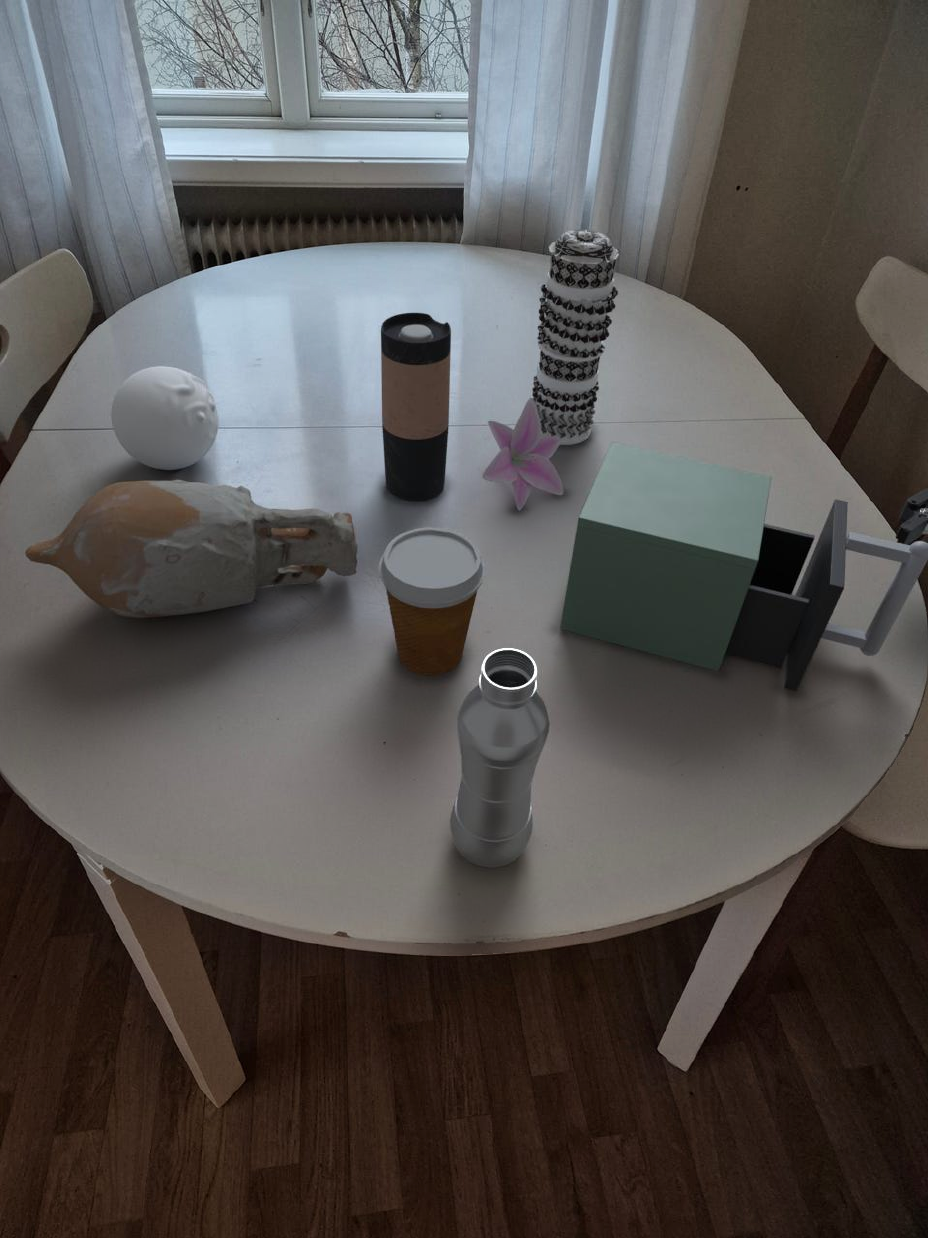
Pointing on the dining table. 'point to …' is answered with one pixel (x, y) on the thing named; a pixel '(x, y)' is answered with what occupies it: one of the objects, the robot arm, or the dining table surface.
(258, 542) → the amphora
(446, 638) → the disposable coffee cup
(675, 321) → the dining table surface
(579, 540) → the green drawer cabinet
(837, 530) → the black drawer with handle
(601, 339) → the black and white cylinder
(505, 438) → the lily
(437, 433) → the travel mug
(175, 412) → the decorative ball
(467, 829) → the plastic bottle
